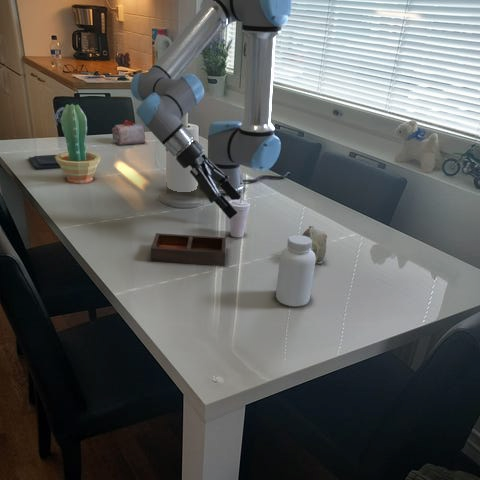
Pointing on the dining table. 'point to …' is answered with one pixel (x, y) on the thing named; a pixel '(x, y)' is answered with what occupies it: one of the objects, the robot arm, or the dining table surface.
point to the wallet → (44, 162)
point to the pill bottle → (296, 271)
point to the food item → (129, 133)
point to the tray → (188, 249)
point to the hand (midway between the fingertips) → (236, 207)
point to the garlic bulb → (317, 242)
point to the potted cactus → (75, 145)
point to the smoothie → (239, 216)
